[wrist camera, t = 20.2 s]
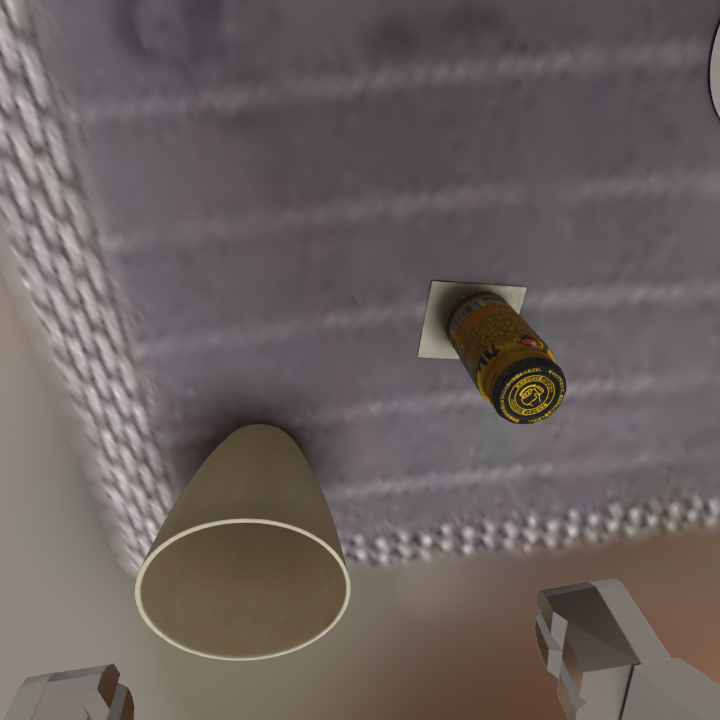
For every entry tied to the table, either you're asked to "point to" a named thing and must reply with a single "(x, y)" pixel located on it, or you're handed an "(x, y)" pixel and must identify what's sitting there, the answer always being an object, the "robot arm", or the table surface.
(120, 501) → the table surface
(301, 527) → the plant pot
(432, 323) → the condiment
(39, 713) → the robot arm
